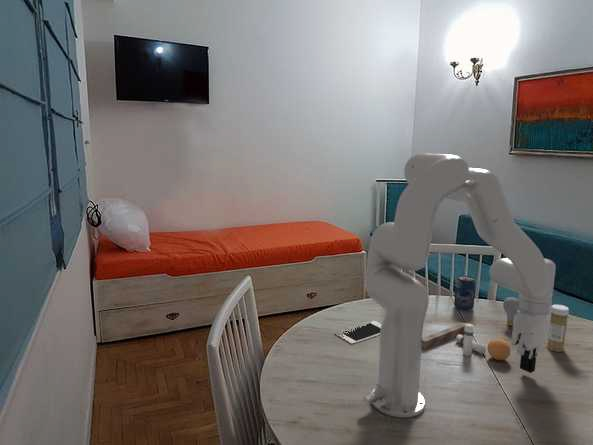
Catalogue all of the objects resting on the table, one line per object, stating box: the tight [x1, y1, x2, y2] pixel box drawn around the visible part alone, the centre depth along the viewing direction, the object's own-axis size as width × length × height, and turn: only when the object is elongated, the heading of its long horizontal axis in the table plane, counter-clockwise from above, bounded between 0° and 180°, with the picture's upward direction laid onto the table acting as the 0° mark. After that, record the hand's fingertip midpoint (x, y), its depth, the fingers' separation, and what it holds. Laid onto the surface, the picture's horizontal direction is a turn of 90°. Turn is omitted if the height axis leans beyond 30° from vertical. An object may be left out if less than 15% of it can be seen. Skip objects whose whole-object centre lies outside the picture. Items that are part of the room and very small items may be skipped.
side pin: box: [462, 323, 475, 357], centre depth 127 cm, size 2×2×9 cm
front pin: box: [455, 334, 487, 355], centre depth 132 cm, size 2×2×9 cm
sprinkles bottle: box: [546, 304, 570, 353], centre depth 130 cm, size 5×5×13 cm
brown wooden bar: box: [421, 322, 468, 350], centre depth 138 cm, size 22×2×2 cm, turn 125°
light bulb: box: [502, 296, 519, 327], centre depth 147 cm, size 6×6×10 cm
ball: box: [486, 338, 511, 361], centre depth 125 cm, size 6×6×6 cm
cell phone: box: [340, 320, 382, 345], centre depth 142 cm, size 9×18×1 cm, turn 124°
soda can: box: [453, 275, 477, 313], centre depth 161 cm, size 7×7×12 cm
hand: (527, 369), depth 116 cm, fingers closed
